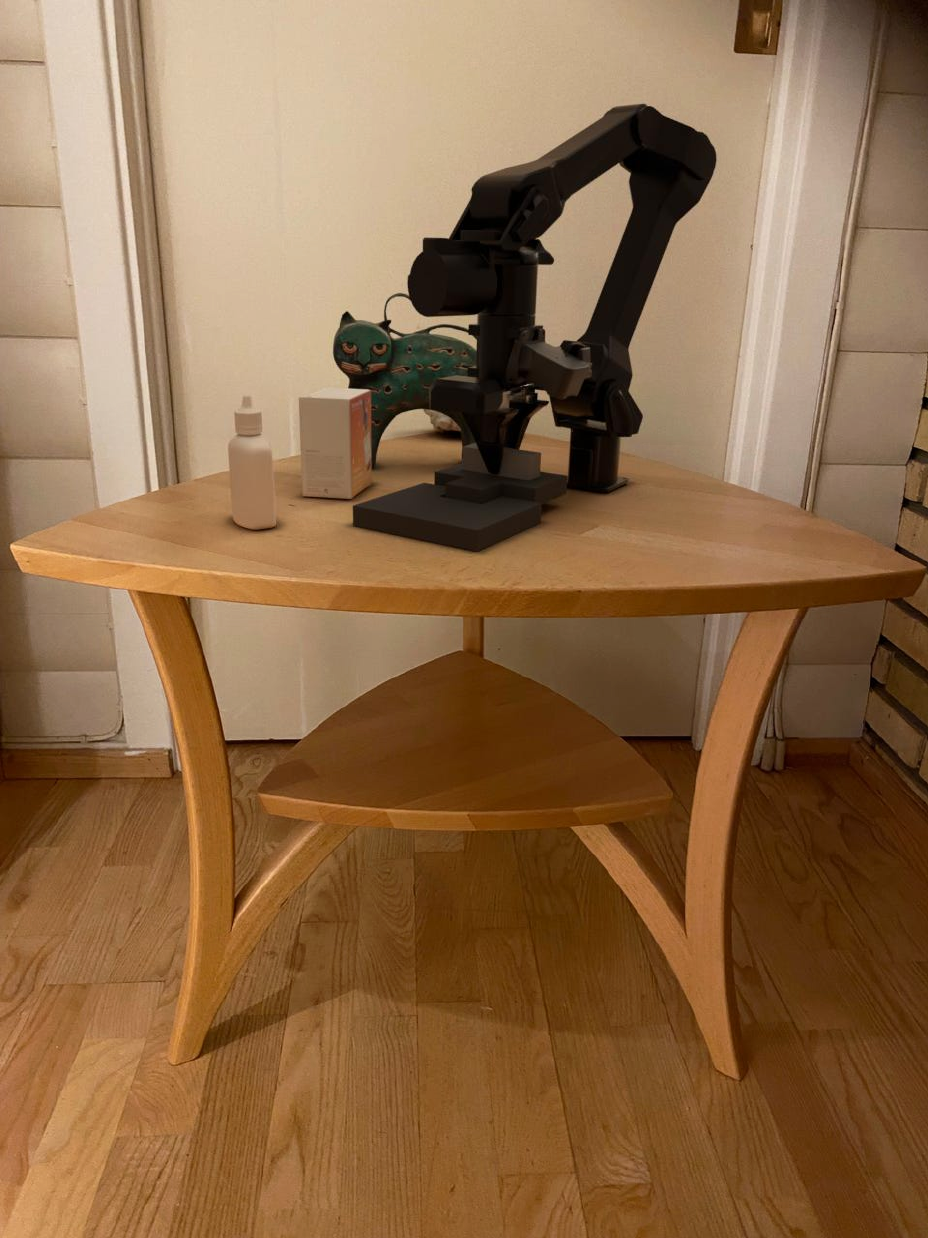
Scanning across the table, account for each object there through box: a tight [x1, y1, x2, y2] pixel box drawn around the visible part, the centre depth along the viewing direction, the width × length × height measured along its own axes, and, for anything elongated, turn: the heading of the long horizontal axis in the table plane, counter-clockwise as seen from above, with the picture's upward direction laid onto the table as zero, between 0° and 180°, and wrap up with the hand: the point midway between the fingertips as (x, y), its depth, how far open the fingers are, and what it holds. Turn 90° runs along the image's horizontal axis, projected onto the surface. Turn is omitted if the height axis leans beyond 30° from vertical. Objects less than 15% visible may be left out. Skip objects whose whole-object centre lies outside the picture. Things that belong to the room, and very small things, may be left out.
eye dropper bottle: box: [227, 394, 277, 531], centre depth 90 cm, size 4×6×12 cm
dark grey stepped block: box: [433, 443, 568, 505], centre depth 98 cm, size 11×12×4 cm
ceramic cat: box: [332, 292, 477, 470], centre depth 114 cm, size 20×6×20 cm, turn 104°
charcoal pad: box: [352, 482, 543, 553], centre depth 93 cm, size 12×14×2 cm
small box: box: [298, 386, 373, 500], centre depth 103 cm, size 8×6×10 cm
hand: (500, 471), depth 100 cm, fingers closed on dark grey stepped block, 2 cm apart
